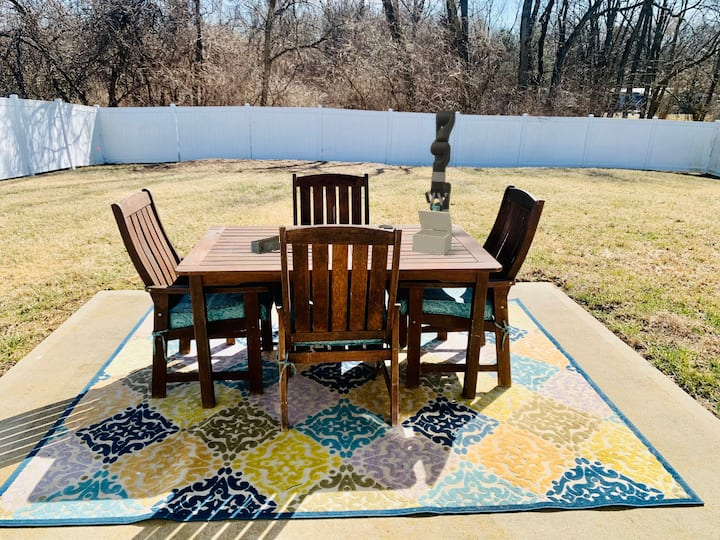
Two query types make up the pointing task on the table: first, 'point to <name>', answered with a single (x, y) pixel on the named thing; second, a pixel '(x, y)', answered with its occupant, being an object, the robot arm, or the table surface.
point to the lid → (435, 219)
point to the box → (432, 241)
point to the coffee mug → (386, 226)
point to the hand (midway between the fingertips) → (436, 211)
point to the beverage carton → (265, 245)
